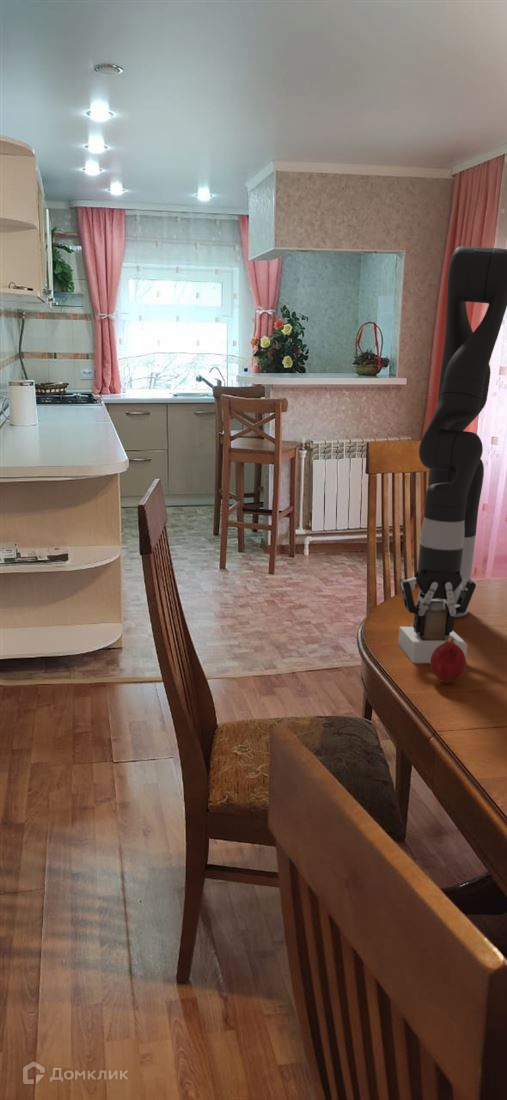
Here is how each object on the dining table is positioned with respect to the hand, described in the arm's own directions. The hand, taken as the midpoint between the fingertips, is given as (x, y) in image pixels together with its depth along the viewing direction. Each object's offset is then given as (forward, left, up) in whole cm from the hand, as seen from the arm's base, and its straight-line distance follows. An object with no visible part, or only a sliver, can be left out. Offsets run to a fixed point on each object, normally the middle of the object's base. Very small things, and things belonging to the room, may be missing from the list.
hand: (432, 633), depth 153 cm
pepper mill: (0, 0, -4) cm, 4 cm away
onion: (+13, +5, -4) cm, 15 cm away
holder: (0, 0, -4) cm, 4 cm away
